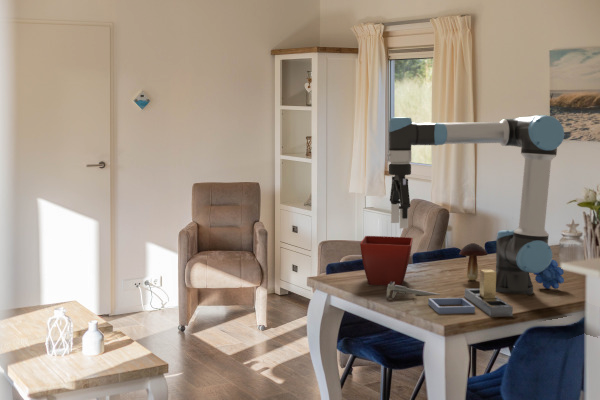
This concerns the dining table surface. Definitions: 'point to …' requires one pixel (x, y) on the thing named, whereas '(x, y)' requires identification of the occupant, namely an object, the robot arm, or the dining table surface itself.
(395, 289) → the caliper
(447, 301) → the tray
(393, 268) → the plant pot
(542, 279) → the grapes
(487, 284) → the brass peg
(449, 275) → the dining table surface
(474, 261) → the decorative mushroom
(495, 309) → the socket rail
